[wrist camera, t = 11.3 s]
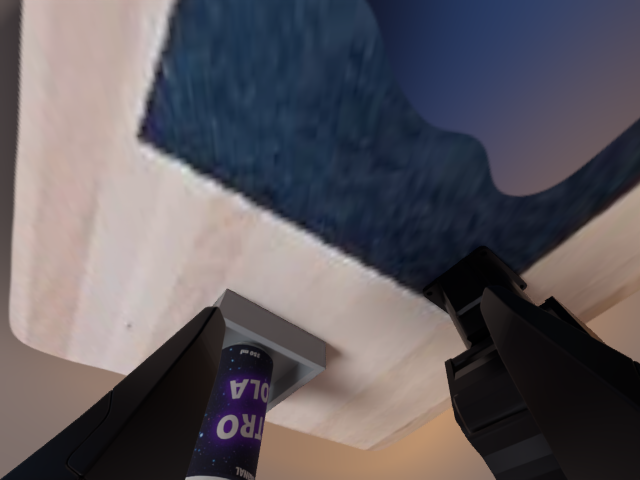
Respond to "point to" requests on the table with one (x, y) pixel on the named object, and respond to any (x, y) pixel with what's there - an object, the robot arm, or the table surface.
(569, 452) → the robot arm
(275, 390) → the tray
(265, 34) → the table surface
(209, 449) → the beverage can
